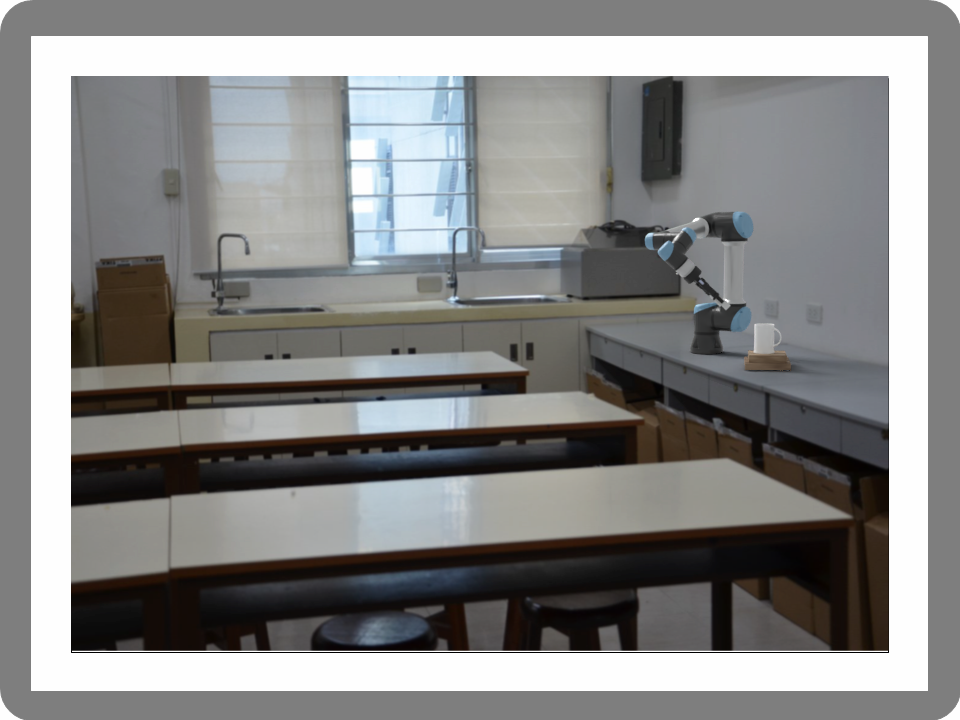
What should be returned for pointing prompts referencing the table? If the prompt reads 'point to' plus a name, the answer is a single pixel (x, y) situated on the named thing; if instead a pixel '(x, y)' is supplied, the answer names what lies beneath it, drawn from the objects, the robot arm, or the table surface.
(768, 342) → the mug
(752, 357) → the pedestal
